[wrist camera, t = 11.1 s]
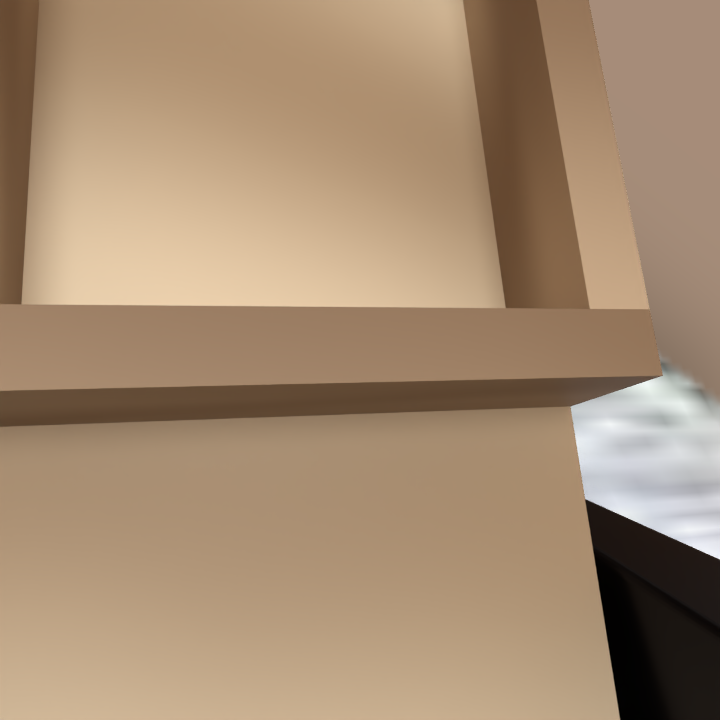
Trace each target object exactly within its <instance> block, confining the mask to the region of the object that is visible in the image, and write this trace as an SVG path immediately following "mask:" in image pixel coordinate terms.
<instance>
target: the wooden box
mask: <svg viewBox="0 0 720 720" xmlns="http://www.w3.org/2000/svg"><path fill="white" fill-rule="evenodd" d="M660 376H663V375H662V370H661V364H660V359H659V354H658V349H657V344H656V339H655V334H654V329H653V325H652V319H651V314H650V309H649V304H648V299H647V294H646V289H645V284H644V278H643V274H642V268H641V263H640V258H639V253H638V248H637V243H636V239H635V233H634V228H633V223H632V218H631V213H630V208H629V203H628V198H627V192H626V187H625V183H624V177H623V172H622V167H621V162H620V157H619V152H618V147H617V142H616V137H615V132H614V127H613V122H612V117H611V112H610V107H609V102H608V97H607V92H606V87H605V81H604V76H603V72H602V66H601V61H600V56H599V51H598V46H597V41H596V36H595V31H594V26H593V21H592V16H591V10H590V5H589V0H0V720H620V716H619V710H618V704H617V697H616V691H615V685H614V678H613V672H612V666H611V660H610V653H609V647H608V641H607V634H606V628H605V622H604V616H603V609H602V603H601V597H600V590H599V584H598V578H597V572H596V565H595V559H594V553H593V546H592V540H591V534H590V528H589V521H588V515H587V509H586V502H585V496H584V490H583V484H582V477H581V471H580V465H579V458H578V452H577V446H576V440H575V433H574V427H573V421H572V414H571V408H570V406H573V405H576V404H579V403H582V402H585V401H588V400H591V399H594V398H597V397H600V396H603V395H606V394H609V393H612V392H615V391H618V390H621V389H624V388H627V387H630V386H633V385H636V384H639V383H642V382H645V381H648V380H651V379H654V378H657V377H660Z"/></svg>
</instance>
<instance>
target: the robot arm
mask: <svg viewBox="0 0 720 720" xmlns="http://www.w3.org/2000/svg"><path fill="white" fill-rule="evenodd" d="M585 502H586V509H587V515H588V521H589V528H590V534H591V540H592V546H593V553H594V559H595V565H596V572H597V578H598V584H599V590H600V597H601V603H602V609H603V616H604V622H605V628H606V634H607V641H608V647H609V653H610V660H611V666H612V672H613V678H614V685H615V691H616V697H617V704H618V710H619V716H620V720H720V560H719V559H717V558H715V557H713V556H710V555H708V554H706V553H704V552H702V551H699V550H697V549H695V548H693V547H690V546H688V545H686V544H684V543H682V542H679V541H677V540H675V539H673V538H670V537H668V536H666V535H664V534H662V533H659V532H657V531H655V530H653V529H650V528H648V527H646V526H644V525H642V524H639V523H637V522H635V521H633V520H630V519H628V518H626V517H624V516H622V515H619V514H617V513H615V512H613V511H610V510H608V509H606V508H604V507H601V506H599V505H597V504H595V503H593V502H590V501H588V500H586V499H585Z"/></svg>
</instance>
